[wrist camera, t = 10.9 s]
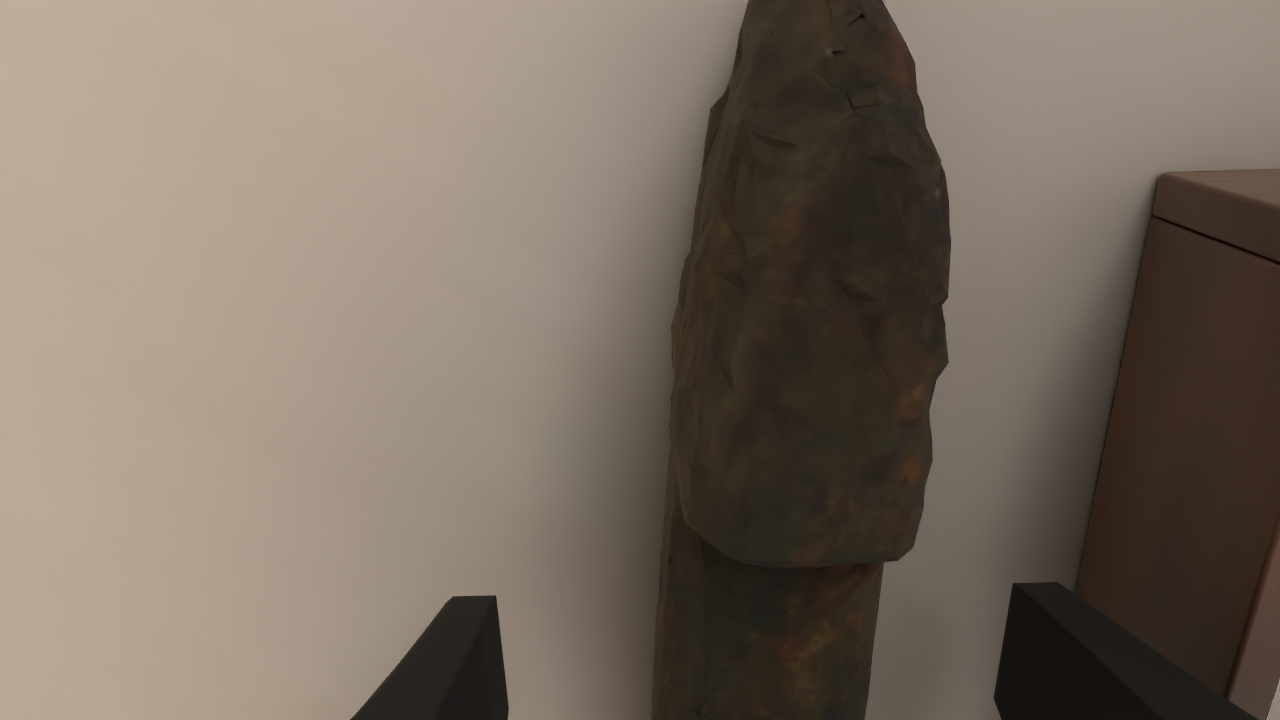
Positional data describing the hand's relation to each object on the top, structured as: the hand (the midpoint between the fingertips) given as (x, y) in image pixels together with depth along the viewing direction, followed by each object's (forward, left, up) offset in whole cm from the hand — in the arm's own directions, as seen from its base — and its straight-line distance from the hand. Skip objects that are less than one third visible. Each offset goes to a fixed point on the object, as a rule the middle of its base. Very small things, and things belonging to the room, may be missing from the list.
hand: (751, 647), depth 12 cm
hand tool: (0, +1, -2) cm, 2 cm away
